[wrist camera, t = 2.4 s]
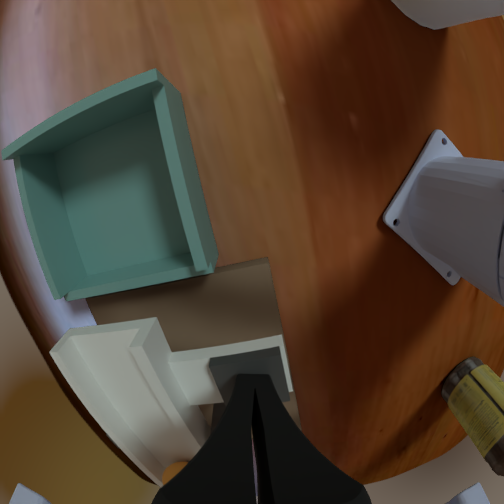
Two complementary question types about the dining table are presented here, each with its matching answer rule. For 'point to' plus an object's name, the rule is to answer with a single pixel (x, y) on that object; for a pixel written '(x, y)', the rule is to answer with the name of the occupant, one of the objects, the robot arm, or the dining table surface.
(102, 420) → the tray
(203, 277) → the stand
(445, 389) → the sauce bottle
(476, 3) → the foam cup
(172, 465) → the ball
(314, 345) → the dining table surface
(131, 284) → the teal open box
